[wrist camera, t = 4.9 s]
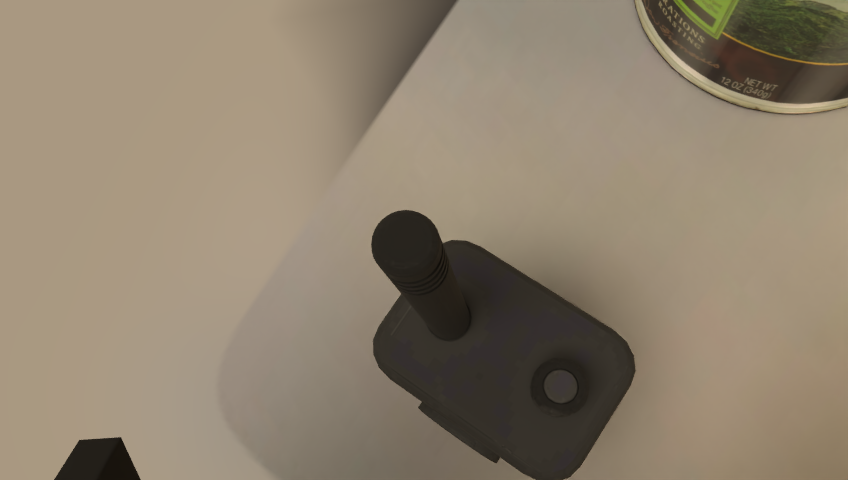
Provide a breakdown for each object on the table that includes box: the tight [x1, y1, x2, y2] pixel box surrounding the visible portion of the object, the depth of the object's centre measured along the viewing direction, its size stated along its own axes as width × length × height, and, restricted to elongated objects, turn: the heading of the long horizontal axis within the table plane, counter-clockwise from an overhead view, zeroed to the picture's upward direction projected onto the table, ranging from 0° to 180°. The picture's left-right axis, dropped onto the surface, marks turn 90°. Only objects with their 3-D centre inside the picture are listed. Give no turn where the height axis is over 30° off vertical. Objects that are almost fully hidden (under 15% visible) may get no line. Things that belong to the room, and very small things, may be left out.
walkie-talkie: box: [371, 210, 636, 480], centre depth 15 cm, size 5×3×15 cm
